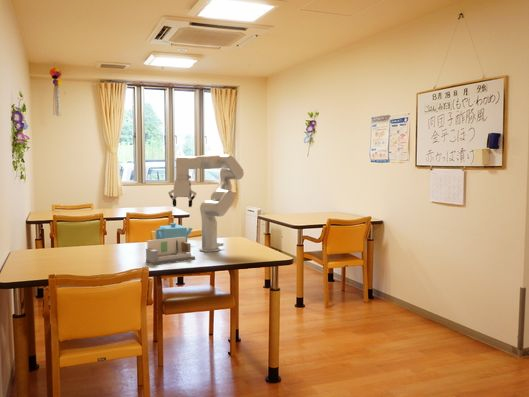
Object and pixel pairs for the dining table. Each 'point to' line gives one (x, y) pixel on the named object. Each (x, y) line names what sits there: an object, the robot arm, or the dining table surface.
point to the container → (172, 231)
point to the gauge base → (166, 251)
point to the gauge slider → (183, 248)
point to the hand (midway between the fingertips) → (182, 206)
